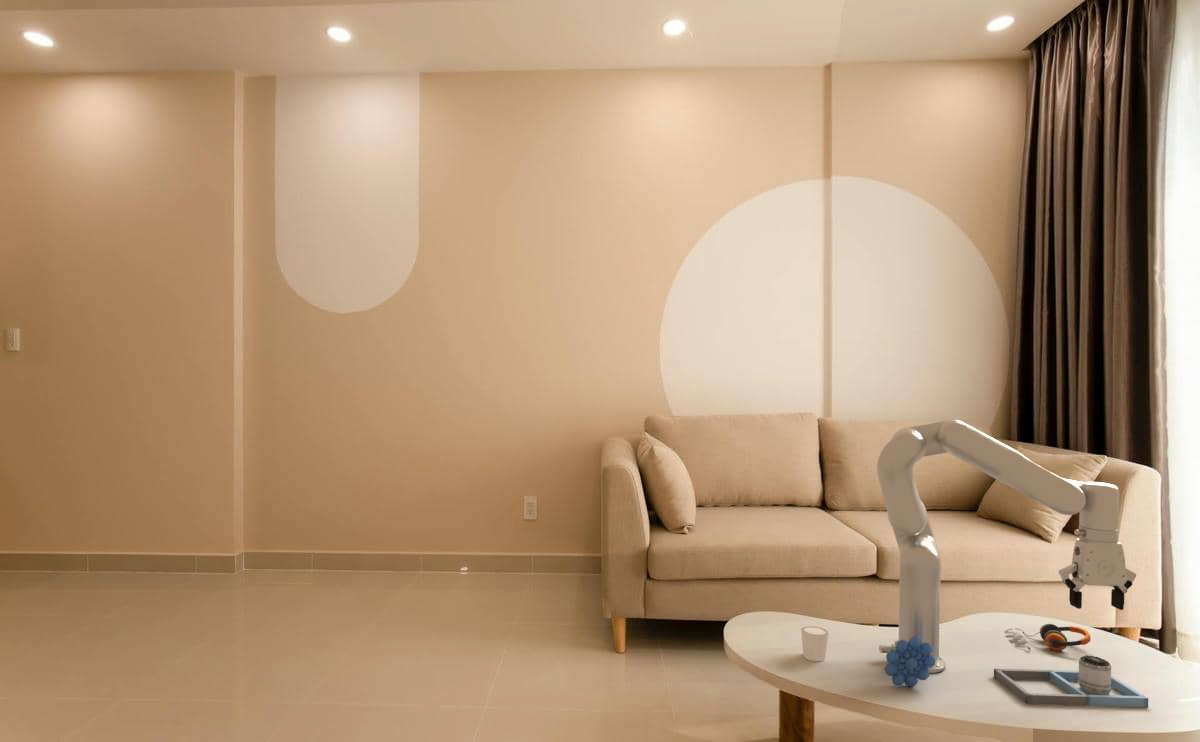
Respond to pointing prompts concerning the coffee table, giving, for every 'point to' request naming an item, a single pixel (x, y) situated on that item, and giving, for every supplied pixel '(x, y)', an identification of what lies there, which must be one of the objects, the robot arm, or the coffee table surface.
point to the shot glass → (814, 643)
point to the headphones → (1054, 637)
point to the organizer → (1067, 689)
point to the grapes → (909, 662)
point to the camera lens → (1094, 675)
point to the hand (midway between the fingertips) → (1096, 607)
